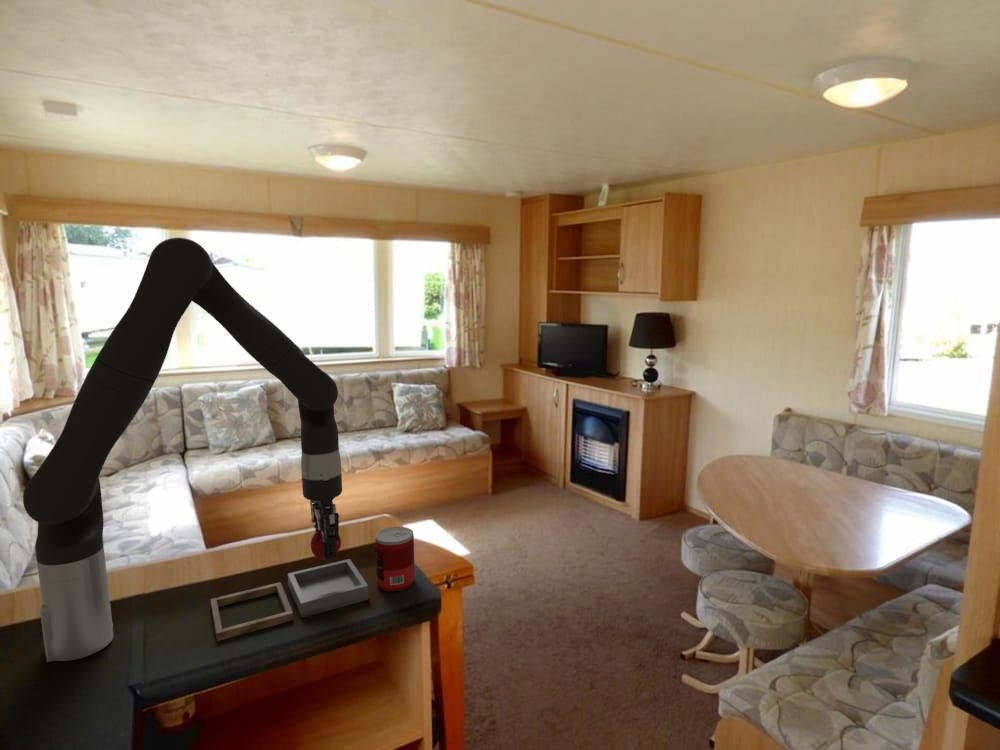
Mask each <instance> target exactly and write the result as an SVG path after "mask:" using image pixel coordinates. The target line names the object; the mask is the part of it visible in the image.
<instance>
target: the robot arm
mask: <svg viewBox="0 0 1000 750" xmlns="http://www.w3.org/2000/svg"><path fill="white" fill-rule="evenodd" d="M192 302H193V303H194V304H196V305H197V306H199V307H200V308H201V309H203V310H204V311H205V312H206V313H207V314H209V315H210V316H211V317H212V318H213V319H214V320H216V322H218V323H219V325H221V326H222V327H223V328H224V330H225V331H226V332H227V333H229V335H230V336H231V337H232V338H233V339H234V340H235V341H236V342H237V344H239V346H240V347H241V348H243V349H244V350H245V351H246V353H247V354H248V355H250V357H251V358H252V359H254V360H255V361H256V362H257V363H258V364H260V366H262V367H263V368H264V369H265V370H266V371H267V372H269V374H271V375H273V376H274V377H275V378H276V379H278V381H279V382H281V383H282V384H283V386H284V387H286V389H288V391H289V392H290V393H291V394H292V395H293V396H294V397H295V398H296V399H297V403H298V404H297V405H298V411H299V419H300V445H301V448H300V450H301V459H300V466H301V467H300V469H301V470H300V471H301V485H302V486H301V487H302V495H303V498H305V499H306V500H307V501H308V500H309V503H310V504H309V505H310V514H311V522H312V523H313V528H314V531H315V533H316V532H317V531H318V530H320V531H321V532H322V541H323V551H324V558H325V559H326V560H328V559H330V560H332V559H335V558H336V557H337V554H336V547H335V541H338V540H339V536H340V535H339V533H340V532H339V531H340V529H339V527H340V525H339V524H340V521H339V519H340V514H339V512H337V506H336V503H334V502H333V500H334V499H335V498H337V497H339V496H340V495H341V494H342V492H343V479H342V478H343V477H342V474H343V473H342V459H341V453H340V446H339V445H340V443H339V429H338V425H337V422H336V419H335V404H336V402H337V400H338V396H339V389H338V386H337V384H336V382H335V381H334V379H333V378H332V377H331V376H330V375H329V374H328V373H327V372H325V371H323V370H322V369H321V368H320V367H319V366H317V364H315V363H314V362H313V361H312V360H310V359H309V358H308V357H307V356H306V355H305V353H304V352H303V351H302V350H301V348H300V347H299V346H298V345H297V344H295V342H294V341H293V340H292V339H290V337H288V335H286V334H285V332H283V331H282V330H281V329H280V328H279V327H277V325H275V323H273V322H272V321H271V320H270V319H269V318H268V317H266V316H265V315H264V314H262V312H260V311H259V310H258V309H257V308H255V307H254V306H253V305H252V304H251V303H249V302H248V301H247V299H245V298H244V297H243V296H242V295H241V294H239V292H237V290H236V289H235V288H234V287H233V286H232V285H231V284H230V283H229V282H228V281H227V279H226V278H225V277H224V275H222V272H220V270H219V269H218V267H217V266H216V265H215V264H214V263H213V261H212V258H211V256H210V255H209V253H208V252H207V251H206V249H205V248H204V247H203V246H202V245H201V244H200V243H197V242H196V241H194V240H193V239H189V238H186V237H181V236H179V237H178V236H177V237H171V238H167V239H164V240H163V241H161V242H159V243H158V244H157V245H155V247H154V248H153V250H152V251H151V253H150V255H149V259H148V261H147V264H146V267H145V269H144V273H143V274H142V278H141V280H140V282H139V286H138V287H137V290H136V292H135V295H134V297H133V299H132V300H131V302H130V305H129V306H128V308H127V310H126V312H125V313H124V314H123V315H122V317H121V318H120V320H119V321H118V323H117V324H116V325H115V327H114V329H113V330H112V331H111V333H110V335H109V336H108V337H107V339H106V341H105V342H104V344H103V345H102V347H101V349H100V351H99V352H98V354H97V355H96V358H95V359H94V361H93V363H92V365H91V367H90V368H89V370H88V372H87V373H86V376H85V378H84V380H83V383H82V385H81V387H80V388H79V390H78V393H77V395H76V397H75V400H74V401H73V404H72V406H71V409H70V411H69V413H68V416H67V418H66V422H65V424H64V427H63V429H62V431H61V434H60V435H59V437H58V438H57V440H56V442H55V444H54V445H53V447H52V448H51V450H50V452H49V453H48V455H47V456H46V457H45V459H44V461H43V462H42V464H41V465H40V466H39V467H38V469H37V470H36V471H35V473H34V474H33V476H32V477H31V478H30V479H28V481H27V483H26V484H25V487H24V489H23V494H22V504H23V507H24V509H25V512H26V514H27V515H28V516H29V517H30V518H31V520H33V521H35V522H37V536H36V541H35V546H34V549H35V550H34V551H35V558H36V565H37V574H38V578H39V579H38V580H39V586H40V587H39V588H40V594H41V601H42V603H41V607H40V609H39V614H40V622H41V627H42V628H41V629H42V630H41V631H42V635H43V643H44V644H43V646H44V651H45V652H44V653H45V658H46V663H50V662H55V661H56V662H58V661H59V662H66V661H67V662H69V661H75V660H79V659H83V658H86V657H89V656H91V655H93V654H96V653H97V652H99V651H101V650H103V649H104V648H106V647H107V646H108V645H109V644H110V643H111V642H112V641H113V639H114V624H113V617H112V610H111V609H112V608H111V607H112V606H111V601H110V591H109V584H108V583H109V582H108V574H107V573H108V572H107V565H106V556H105V545H104V511H103V500H102V490H101V482H100V477H99V476H100V474H101V472H102V469H103V467H104V464H105V463H106V460H107V458H108V456H109V454H110V453H111V451H112V449H113V448H114V446H115V445H116V443H117V442H118V441H119V439H120V438H121V436H123V434H124V433H125V431H126V430H127V428H128V427H129V425H130V424H131V422H133V420H134V419H135V417H136V415H137V414H138V412H139V410H140V409H141V407H142V406H143V404H144V403H145V401H146V400H147V398H148V396H149V394H150V392H151V390H152V388H153V387H154V384H155V382H156V380H157V379H158V376H159V374H160V373H161V370H162V367H163V365H164V362H165V360H166V358H167V354H168V352H169V348H170V345H171V343H172V340H173V336H174V332H175V330H176V328H177V326H178V324H179V322H180V320H181V319H182V318H183V315H184V314H185V312H186V311H187V309H188V308H189V306H190V305H191V304H192ZM323 525H324V526H323ZM329 532H332V535H328V534H329Z"/></svg>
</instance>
